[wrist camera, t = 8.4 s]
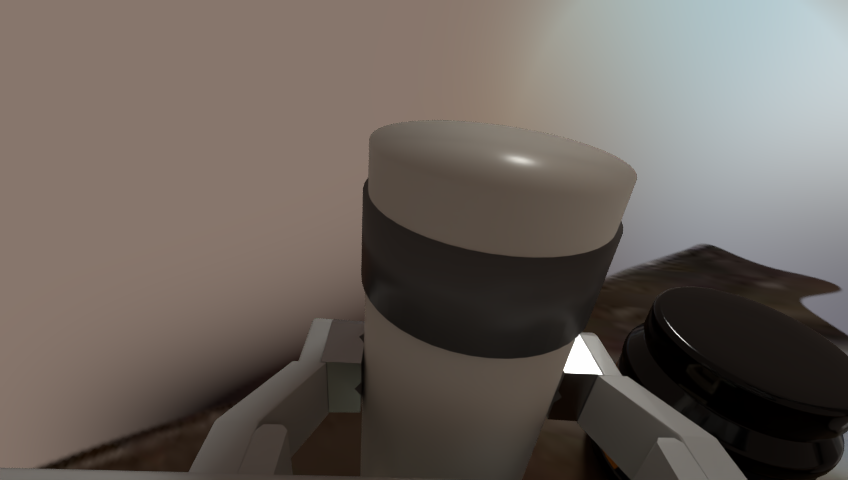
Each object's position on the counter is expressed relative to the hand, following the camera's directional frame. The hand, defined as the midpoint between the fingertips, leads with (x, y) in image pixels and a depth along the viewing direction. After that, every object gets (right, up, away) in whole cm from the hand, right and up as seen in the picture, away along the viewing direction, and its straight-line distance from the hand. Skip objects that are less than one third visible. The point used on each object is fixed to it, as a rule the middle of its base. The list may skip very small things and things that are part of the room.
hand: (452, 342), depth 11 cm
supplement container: (+16, -13, +15) cm, 25 cm away
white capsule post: (-1, -7, +3) cm, 8 cm away
